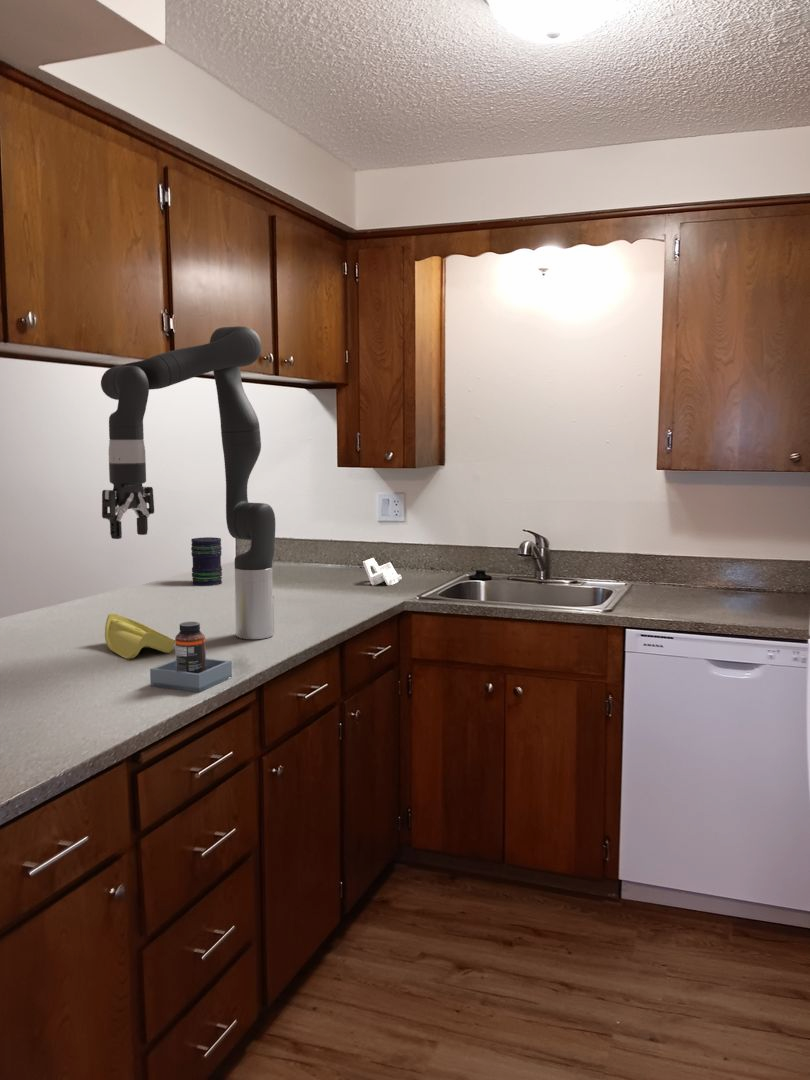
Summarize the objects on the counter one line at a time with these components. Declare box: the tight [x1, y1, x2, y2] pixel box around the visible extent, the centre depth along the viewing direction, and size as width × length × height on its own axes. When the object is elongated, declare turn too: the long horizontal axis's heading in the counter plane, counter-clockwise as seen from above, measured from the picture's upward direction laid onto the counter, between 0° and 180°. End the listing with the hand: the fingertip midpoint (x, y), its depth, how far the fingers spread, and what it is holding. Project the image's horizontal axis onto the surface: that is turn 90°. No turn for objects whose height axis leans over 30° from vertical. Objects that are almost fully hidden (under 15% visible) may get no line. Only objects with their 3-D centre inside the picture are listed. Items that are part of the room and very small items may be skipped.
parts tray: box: [149, 657, 233, 693], centre depth 186 cm, size 12×12×4 cm
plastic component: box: [104, 612, 175, 660], centre depth 213 cm, size 20×7×10 cm
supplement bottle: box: [174, 621, 207, 673], centre depth 185 cm, size 6×6×11 cm
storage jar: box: [190, 536, 223, 587], centre depth 303 cm, size 10×10×15 cm
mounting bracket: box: [362, 557, 402, 587], centre depth 306 cm, size 12×6×11 cm, turn 161°
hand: (129, 536), depth 196 cm, fingers open, 8 cm apart
